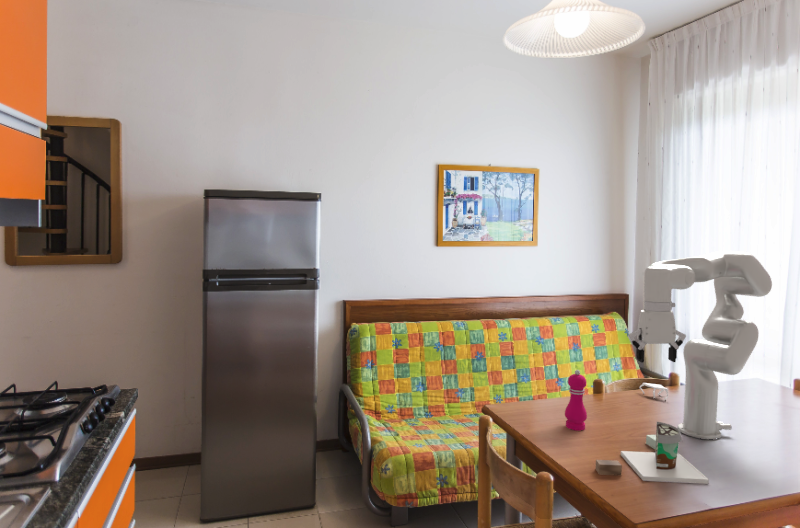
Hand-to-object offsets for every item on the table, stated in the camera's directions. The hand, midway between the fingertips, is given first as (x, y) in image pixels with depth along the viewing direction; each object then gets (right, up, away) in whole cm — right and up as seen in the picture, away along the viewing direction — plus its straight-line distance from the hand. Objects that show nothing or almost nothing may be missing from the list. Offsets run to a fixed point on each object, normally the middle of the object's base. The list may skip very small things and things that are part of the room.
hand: (656, 361), depth 156 cm
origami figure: (+26, -25, +52) cm, 63 cm away
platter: (-5, -28, -14) cm, 32 cm away
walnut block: (-22, -28, -17) cm, 39 cm away
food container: (-4, -27, -14) cm, 30 cm away
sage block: (0, -27, +1) cm, 27 cm away
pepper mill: (-20, -26, +16) cm, 36 cm away
